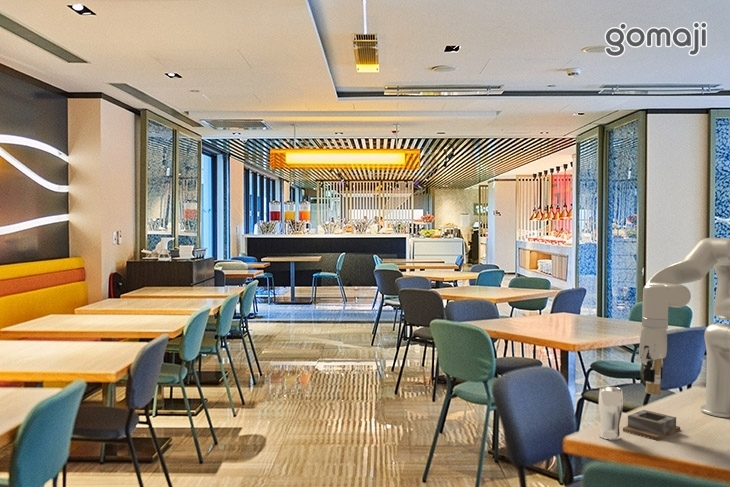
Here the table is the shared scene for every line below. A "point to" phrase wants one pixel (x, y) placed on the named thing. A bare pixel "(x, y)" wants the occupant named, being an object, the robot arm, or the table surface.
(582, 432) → the table surface
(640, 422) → the socket holder
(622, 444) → the table surface
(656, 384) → the sprinkles bottle
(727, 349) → the robot arm
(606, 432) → the beer glass
